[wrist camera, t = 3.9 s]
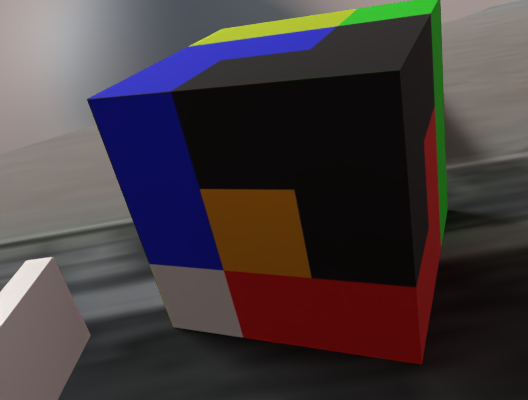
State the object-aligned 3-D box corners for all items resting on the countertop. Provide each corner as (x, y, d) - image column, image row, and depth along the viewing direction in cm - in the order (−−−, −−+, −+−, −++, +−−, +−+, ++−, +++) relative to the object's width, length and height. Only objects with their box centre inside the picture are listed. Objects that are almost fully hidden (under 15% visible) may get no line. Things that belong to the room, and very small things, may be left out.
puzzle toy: (173, 328, 21) (86, 99, 16) (263, 206, 29) (221, 29, 24) (422, 366, 17) (399, 69, 12) (447, 211, 24) (440, -4, 20)
